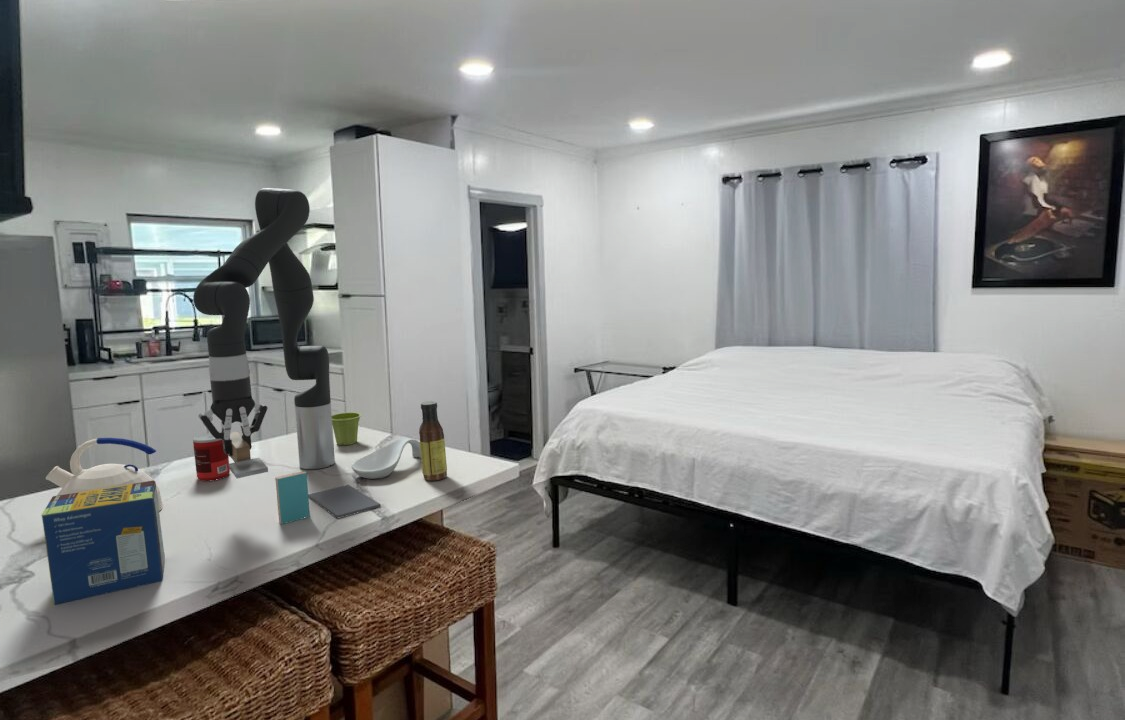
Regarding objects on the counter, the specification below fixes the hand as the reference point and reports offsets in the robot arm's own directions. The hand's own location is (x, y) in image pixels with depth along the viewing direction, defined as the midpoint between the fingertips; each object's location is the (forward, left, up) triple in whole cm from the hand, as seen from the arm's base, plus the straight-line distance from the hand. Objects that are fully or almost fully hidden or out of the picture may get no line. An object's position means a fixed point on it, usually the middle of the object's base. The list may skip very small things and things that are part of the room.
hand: (238, 453), depth 137 cm
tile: (+10, +8, -14) cm, 19 cm away
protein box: (+16, -25, -15) cm, 33 cm away
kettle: (-21, -22, -15) cm, 34 cm away
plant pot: (-42, +41, -14) cm, 60 cm away
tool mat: (+7, +20, -14) cm, 25 cm away
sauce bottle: (+7, +44, -14) cm, 46 cm away
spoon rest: (-8, +39, -15) cm, 43 cm away
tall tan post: (+3, 0, -1) cm, 3 cm away
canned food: (-35, +2, -14) cm, 38 cm away
